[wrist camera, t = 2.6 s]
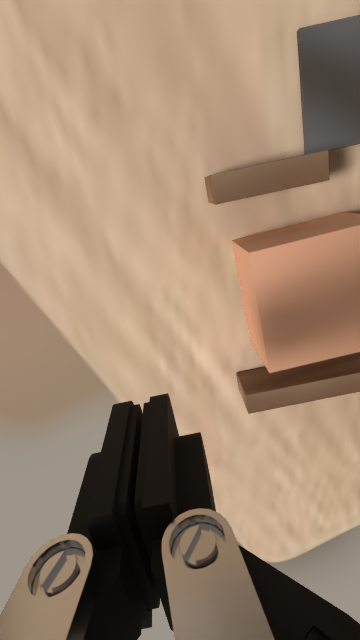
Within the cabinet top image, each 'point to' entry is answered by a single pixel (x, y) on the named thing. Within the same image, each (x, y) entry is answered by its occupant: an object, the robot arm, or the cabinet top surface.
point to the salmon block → (302, 290)
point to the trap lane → (319, 136)
